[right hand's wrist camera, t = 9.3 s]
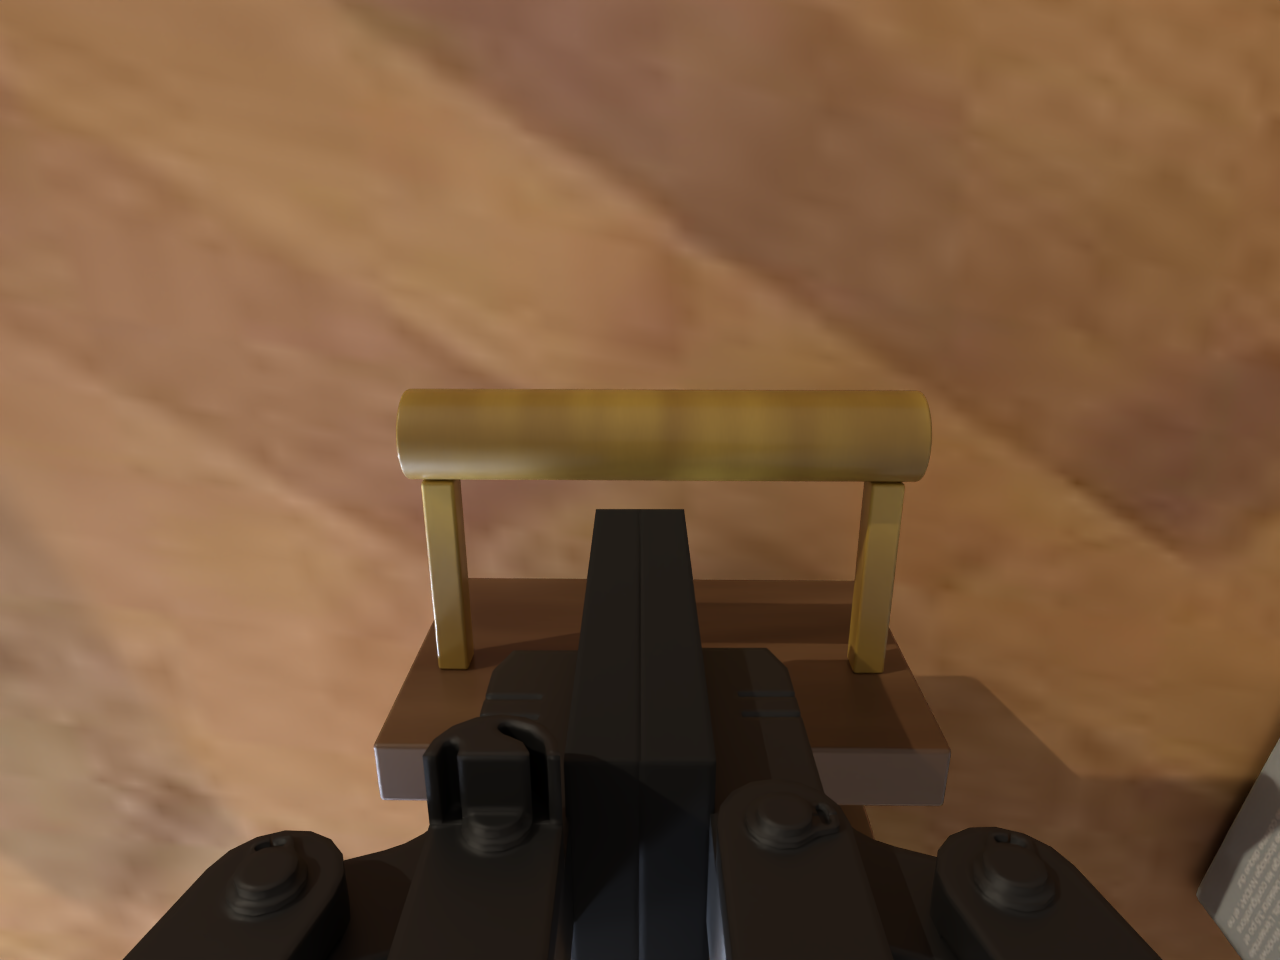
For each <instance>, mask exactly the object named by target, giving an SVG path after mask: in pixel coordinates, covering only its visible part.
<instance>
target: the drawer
mask: <svg viewBox="0 0 1280 960" xmlns="http://www.w3.org/2000/svg"><path fill="white" fill-rule="evenodd" d="M396 444H397V453H398V458H399V463H400V466H401V469H402V471H403V473H404V475H405V476H406V477H407V478H409V479H424V480H423V481H422V484H421V489H422V499H423V509H424V520H425V530H426V541H427V551H428V561H429V572H430V582H431V592H432V603H433V613H434V621H433V623H432V625H431V627H430V629H429V632H428V634H427V636H426V638H425V640H424V642H423V644H422V646H421V648H420V650H419V652H418V654H417V656H416V659H415V661H414V663H413V665H412V667H411V669H410V671H409V673H408V675H407V677H406V679H405V681H404V683H403V686H402V688H401V690H400V692H399V694H398V696H397V698H396V700H395V702H394V704H393V706H392V708H391V711H390V713H389V715H388V717H387V719H386V721H385V723H384V725H383V727H382V729H381V731H380V733H379V735H378V738H377V740H376V742H375V744H374V752H375V759H376V767H377V774H378V782H379V789H380V797H381V799H383V800H427V794H426V785H425V775H424V766H423V757H422V756H423V754H424V753H425V751H426V750H427V748H428V747H429V745H430V744H431V742H432V741H433V739H435V738H436V737H437V736H439V735H440V734H442V733H443V732H444V731H446V730H447V729H449V728H450V727H452V726H453V725H456V724H459V723H462V722H464V721H467V720H470V719H473V718H475V717H480V712H481V709H482V705H483V702H484V700H485V698H486V692H487V688H488V685H489V681H490V678H491V675H492V671H493V670H494V669H495V668H496V667H497V666H498V665H499V664H500V663H501V662H502V661H503V660H504V659H505V658H506V657H507V656H508V655H509V654H510V653H511V652H512V651H513V650H578V646H579V638H580V631H581V623H582V615H583V607H584V599H585V592H586V584H587V579H504V578H468V571H467V558H466V546H465V533H464V520H463V508H462V495H461V482H460V479H471V480H661V481H851V482H864V490H863V500H862V510H861V521H860V531H859V541H858V551H857V561H856V572H855V581H790V580H693V584H694V592H695V599H696V607H697V615H698V623H699V631H700V638H701V646H702V648H767V649H769V650H770V651H771V652H772V653H773V654H774V655H775V656H776V657H777V658H778V659H779V660H780V661H781V662H782V663H783V664H784V665H785V666H786V667H787V668H788V671H789V675H790V678H791V681H792V685H793V688H794V692H795V697H796V698H797V702H798V705H799V708H800V712H801V717H802V719H803V722H804V725H805V729H806V732H807V736H808V739H809V742H810V746H811V749H812V753H813V756H814V759H815V763H816V766H817V769H818V773H819V776H820V780H821V783H822V786H823V790H824V793H825V794H826V795H827V796H828V797H829V798H831V799H832V800H833V801H834V802H836V803H837V804H838V805H839V806H840V807H841V809H842V810H843V812H844V814H845V815H846V817H847V819H848V820H849V822H850V824H851V826H852V827H853V828H854V829H855V830H857V831H859V832H861V833H863V834H864V835H866V836H868V837H870V838H872V839H874V840H875V838H874V835H873V832H872V828H871V825H870V822H869V819H868V816H867V813H866V810H865V807H864V805H891V806H941V805H942V804H943V801H944V795H945V788H946V782H947V775H948V769H949V762H950V756H951V750H950V748H949V746H948V744H947V742H946V740H945V738H944V736H943V734H942V732H941V730H940V728H939V726H938V724H937V722H936V720H935V718H934V716H933V714H932V712H931V710H930V708H929V706H928V704H927V702H926V700H925V698H924V696H923V694H922V692H921V690H920V688H919V686H918V684H917V682H916V680H915V678H914V676H913V674H912V672H911V670H910V668H909V666H908V664H907V662H906V660H905V658H904V656H903V654H902V652H901V650H900V648H899V646H898V644H897V642H896V640H895V638H894V636H893V634H892V633H891V631H890V629H889V620H890V611H891V603H892V594H893V586H894V577H895V568H896V560H897V551H898V542H899V534H900V525H901V517H902V508H903V499H904V491H905V486H904V484H903V482H916V481H919V480H920V479H921V478H922V477H923V476H924V474H925V472H926V469H927V466H928V463H929V458H930V453H931V444H932V423H931V415H930V410H929V405H928V402H927V400H926V397H925V396H924V394H923V393H921V392H920V391H860V390H587V389H408V390H406V391H405V392H404V393H403V395H402V397H401V400H400V403H399V407H398V413H397V421H396ZM709 960H710V957H709Z"/></svg>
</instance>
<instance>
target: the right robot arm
mask: <svg viewBox="0 0 1280 960" xmlns="http://www.w3.org/2000/svg"><path fill="white" fill-rule="evenodd" d="M422 757H423V766H424V775H425V785H426V794H427V804H428V813H429V823H430V825H429V828H428V831H427V832H425V833H424V834H422V835H420V836H418V837H416V838H415V839H413V840H411V841H409V842H407V843H405V844H402V845H399V846H396V847H393V848H390V849H387V850H384V851H380V852H376V853H372V854H368V855H364V856H360V857H356V858H352V859H348V860H344V861H343V854H342V853H341V852H340V850H339V849H338V848H337V846H336V845H335V844H334V843H333V841H332V840H331V839H329V838H326V837H324V836H321V835H319V834H316V833H314V832H312V831H281V832H277V833H273V834H268V835H264V836H260V837H256V838H254V839H252V840H250V841H248V842H246V843H244V844H242V845H240V846H238V847H236V848H234V849H232V850H230V851H228V852H227V853H226V854H225V855H224V856H222V857H221V858H220V859H219V860H217V861H216V862H215V863H214V864H213V865H211V866H210V867H209V868H208V869H207V870H206V871H205V872H204V873H203V874H202V875H201V876H200V877H199V878H198V879H197V880H196V881H195V882H194V884H193V885H192V886H191V887H190V888H189V889H188V890H187V891H186V892H185V893H184V894H183V895H182V896H181V897H180V899H179V900H178V901H177V902H176V903H175V904H174V905H173V906H172V907H171V908H170V909H169V910H168V911H167V913H166V914H165V915H164V916H163V917H162V918H161V919H160V920H159V921H158V922H157V923H156V924H155V925H154V926H153V928H152V929H151V930H150V931H149V932H148V933H147V934H146V935H145V936H144V937H143V938H142V939H141V940H140V942H139V943H138V944H137V945H136V946H135V947H134V948H133V949H132V950H131V951H130V952H129V953H128V954H127V956H126V957H125V958H124V959H123V960H709V957H710V960H1162V959H1161V958H1160V957H1159V956H1158V955H1157V954H1156V953H1155V951H1154V950H1153V949H1152V948H1151V947H1150V946H1149V945H1148V944H1147V943H1146V942H1145V941H1144V940H1143V939H1142V938H1141V936H1140V935H1139V934H1138V933H1137V932H1136V931H1135V930H1134V929H1133V928H1132V927H1131V926H1130V925H1129V924H1128V923H1127V922H1126V920H1125V919H1124V918H1123V917H1122V916H1121V915H1120V914H1119V913H1118V912H1117V911H1116V910H1115V909H1114V908H1113V907H1112V906H1111V904H1110V903H1109V902H1108V901H1107V900H1106V899H1105V898H1104V897H1103V896H1102V895H1101V894H1100V893H1099V892H1098V891H1097V890H1096V888H1095V887H1094V886H1093V885H1092V884H1091V883H1090V882H1089V881H1088V880H1087V879H1086V878H1085V877H1084V876H1083V875H1082V873H1081V872H1080V871H1079V870H1078V869H1077V868H1076V867H1075V866H1074V865H1073V864H1071V863H1070V862H1069V861H1068V860H1067V859H1065V858H1064V857H1063V856H1062V855H1060V854H1059V853H1058V852H1057V851H1056V850H1054V849H1053V848H1052V847H1050V846H1048V845H1046V844H1044V843H1042V842H1040V841H1038V840H1036V839H1034V838H1032V837H1030V836H1028V835H1026V834H1023V833H1019V832H1015V831H1011V830H1006V829H1002V828H998V827H977V828H968V829H965V830H963V831H960V832H958V833H955V834H953V835H950V836H949V837H948V838H947V840H946V841H945V842H944V844H943V845H942V846H941V847H940V849H939V850H938V854H937V857H934V856H930V855H926V854H922V853H918V852H914V851H910V850H906V849H902V848H898V847H894V846H891V845H888V844H885V843H882V842H879V841H876V840H874V839H872V838H870V837H868V836H866V835H864V834H863V833H861V832H859V831H857V830H855V829H854V828H853V827H852V826H851V824H850V822H849V820H848V819H847V817H846V815H845V814H844V812H843V810H842V809H841V807H840V806H839V805H838V804H837V803H836V802H834V801H833V800H832V799H831V798H829V797H828V796H827V795H826V794H825V793H824V790H823V786H822V783H821V780H820V776H819V773H818V769H817V766H816V763H815V759H814V756H813V753H812V749H811V746H810V742H809V739H808V736H807V732H806V729H805V725H804V722H803V719H802V717H801V712H800V708H799V705H798V702H797V698H796V697H795V692H794V688H793V685H792V681H791V678H790V675H789V671H788V668H787V667H786V666H785V665H784V664H783V663H782V662H781V661H780V660H779V659H778V658H777V657H776V656H775V655H774V654H773V653H772V652H771V651H770V650H769V649H767V648H702V646H701V638H700V631H699V623H698V615H697V607H696V599H695V592H694V584H693V576H692V568H691V561H690V553H689V545H688V537H687V529H686V522H685V514H684V509H596V514H595V522H594V529H593V537H592V545H591V553H590V561H589V568H588V576H587V584H586V592H585V599H584V607H583V615H582V623H581V631H580V638H579V646H578V650H513V651H512V652H511V653H510V654H509V655H508V656H507V657H506V658H505V659H504V660H503V661H502V662H501V663H500V664H499V665H498V666H497V667H496V668H495V669H494V670H493V671H492V675H491V678H490V681H489V685H488V688H487V692H486V698H485V700H484V702H483V705H482V709H481V712H480V717H475V718H473V719H470V720H467V721H464V722H462V723H459V724H456V725H453V726H452V727H450V728H449V729H447V730H446V731H444V732H443V733H442V734H440V735H439V736H437V737H436V738H435V739H433V741H432V742H431V744H430V745H429V747H428V748H427V750H426V751H425V753H424V754H423V756H422Z"/></svg>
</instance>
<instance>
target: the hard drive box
mask: <svg viewBox="0 0 1280 960" xmlns="http://www.w3.org/2000/svg"><path fill="white" fill-rule="evenodd" d="M1196 896H1197V898H1198V900H1199V902H1200V903H1201V904H1202V905H1203V907H1204V908H1205V909H1206V911H1207V912H1208V914H1209V915H1210V916H1211V918H1212V919H1213V920H1214V922H1215V923H1216V924H1217V925H1218V927H1219V928H1220V930H1221V931H1222V933H1223V934H1224V935H1225V937H1226V938H1227V940H1228V941H1229V943H1230V944H1231V945H1232V947H1233V948H1234V949H1235V951H1236V952H1237V953H1238V955H1239V956H1240V957H1241V958H1242V960H1280V738H1279V740H1278V742H1277V743H1276V745H1275V747H1274V749H1273V751H1272V752H1271V754H1270V756H1269V758H1268V760H1267V761H1266V763H1265V765H1264V767H1263V769H1262V770H1261V772H1260V774H1259V776H1258V778H1257V779H1256V781H1255V783H1254V785H1253V787H1252V789H1251V790H1250V792H1249V794H1248V796H1247V798H1246V800H1245V802H1244V803H1243V805H1242V807H1241V809H1240V811H1239V813H1238V814H1237V816H1236V818H1235V820H1234V822H1233V824H1232V825H1231V827H1230V829H1229V831H1228V833H1227V835H1226V837H1225V839H1224V841H1223V843H1222V845H1221V847H1220V848H1219V850H1218V852H1217V854H1216V856H1215V858H1214V859H1213V861H1212V863H1211V865H1210V867H1209V868H1208V870H1207V872H1206V874H1205V876H1204V878H1203V880H1202V881H1201V883H1200V885H1199V887H1198V890H1197V893H1196Z"/></svg>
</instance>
